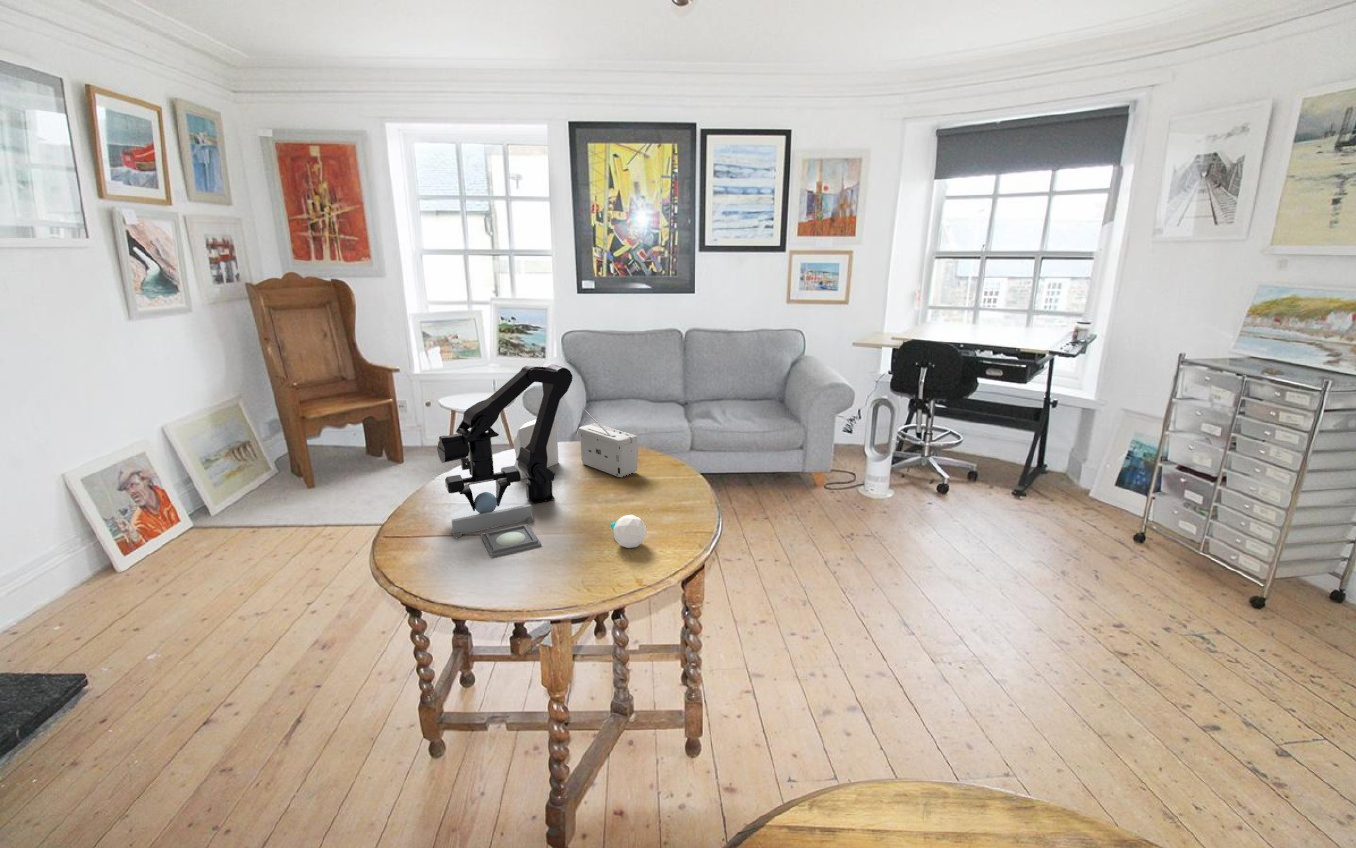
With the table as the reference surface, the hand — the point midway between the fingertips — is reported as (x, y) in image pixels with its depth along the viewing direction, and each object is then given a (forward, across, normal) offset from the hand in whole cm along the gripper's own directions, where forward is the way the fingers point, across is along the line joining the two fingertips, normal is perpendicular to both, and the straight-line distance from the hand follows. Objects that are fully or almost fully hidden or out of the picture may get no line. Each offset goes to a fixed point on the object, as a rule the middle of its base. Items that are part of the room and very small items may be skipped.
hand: (486, 508), depth 161 cm
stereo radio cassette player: (+2, -42, -16) cm, 45 cm away
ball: (+2, 0, 0) cm, 2 cm away
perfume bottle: (+2, -27, +33) cm, 43 cm away
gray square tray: (+2, -2, +19) cm, 19 cm away
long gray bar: (+2, 0, +9) cm, 9 cm away
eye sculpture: (+2, -22, -28) cm, 36 cm away
